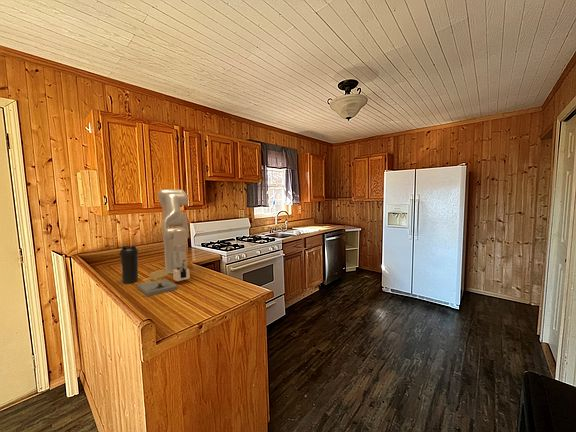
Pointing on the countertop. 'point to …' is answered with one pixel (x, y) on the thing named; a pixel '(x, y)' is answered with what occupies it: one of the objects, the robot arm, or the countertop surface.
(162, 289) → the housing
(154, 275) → the key
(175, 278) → the cream rectangular block
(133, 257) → the water bottle
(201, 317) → the countertop surface
